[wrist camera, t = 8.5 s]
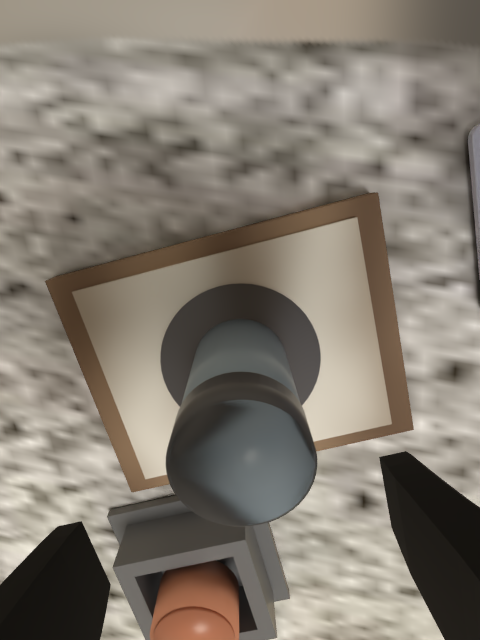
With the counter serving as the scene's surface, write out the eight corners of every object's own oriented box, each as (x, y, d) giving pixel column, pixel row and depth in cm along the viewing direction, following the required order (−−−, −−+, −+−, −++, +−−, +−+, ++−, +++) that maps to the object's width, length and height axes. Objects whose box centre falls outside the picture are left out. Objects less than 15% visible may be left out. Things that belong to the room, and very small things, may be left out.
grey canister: (296, 392, 18) (330, 509, 11) (208, 413, 18) (190, 539, 12) (275, 307, 17) (299, 381, 10) (181, 331, 17) (144, 418, 10)
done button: (227, 550, 19) (225, 599, 17) (247, 609, 21) (248, 663, 18) (148, 566, 20) (136, 617, 17) (173, 624, 21) (164, 679, 19)
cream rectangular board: (369, 192, 17) (380, 192, 15) (405, 418, 20) (416, 433, 19) (55, 276, 18) (41, 282, 16) (136, 478, 21) (130, 496, 20)
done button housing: (255, 477, 21) (258, 522, 18) (288, 590, 23) (296, 645, 20) (110, 509, 21) (90, 558, 19) (156, 616, 24) (145, 674, 21)
